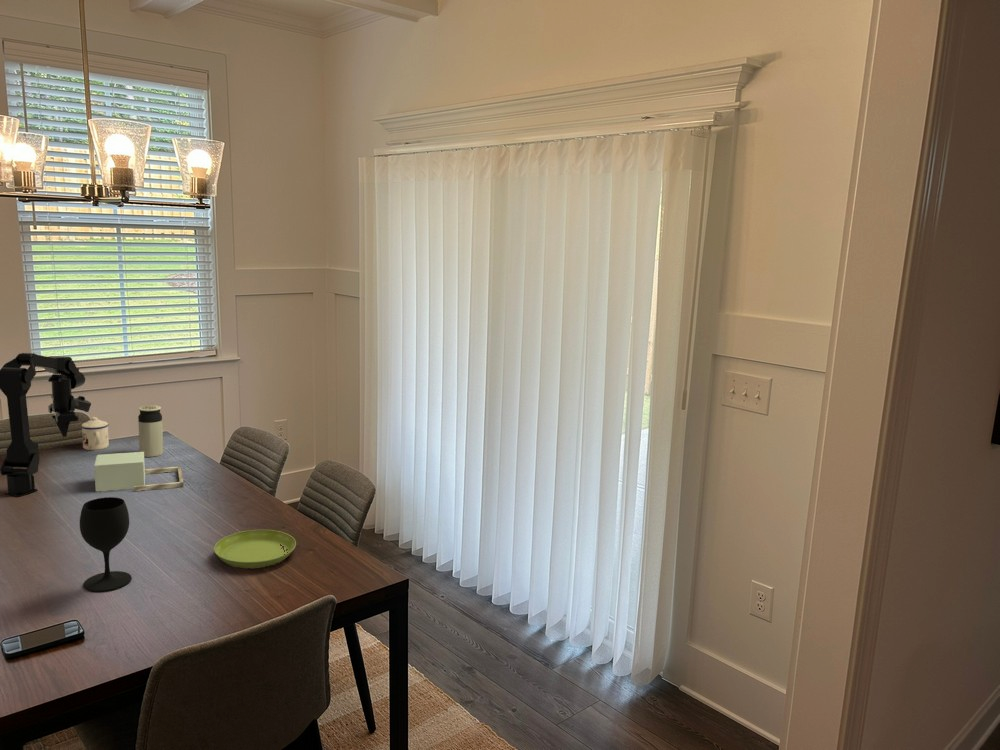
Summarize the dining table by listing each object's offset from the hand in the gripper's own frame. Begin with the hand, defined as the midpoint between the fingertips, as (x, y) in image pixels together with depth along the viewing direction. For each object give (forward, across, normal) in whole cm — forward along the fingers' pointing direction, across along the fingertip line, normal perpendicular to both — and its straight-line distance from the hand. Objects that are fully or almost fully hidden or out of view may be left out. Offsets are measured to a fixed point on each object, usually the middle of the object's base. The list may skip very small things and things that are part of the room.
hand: (64, 436), depth 254 cm
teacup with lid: (+11, +19, -13) cm, 26 cm away
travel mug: (+11, +1, -28) cm, 30 cm away
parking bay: (+11, -30, -22) cm, 39 cm away
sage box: (+11, -28, -11) cm, 32 cm away
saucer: (+12, -103, -27) cm, 107 cm away
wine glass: (+11, -99, +8) cm, 100 cm away
